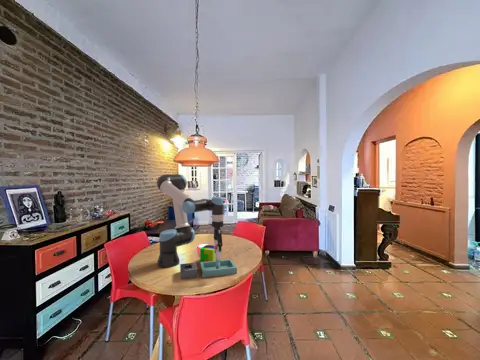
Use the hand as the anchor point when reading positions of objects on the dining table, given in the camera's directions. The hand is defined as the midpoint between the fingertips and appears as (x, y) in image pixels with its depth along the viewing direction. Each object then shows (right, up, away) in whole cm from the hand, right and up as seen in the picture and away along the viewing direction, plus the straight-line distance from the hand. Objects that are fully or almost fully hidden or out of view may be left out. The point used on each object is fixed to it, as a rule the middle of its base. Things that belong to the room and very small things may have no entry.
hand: (217, 252), depth 154 cm
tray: (0, -12, 0) cm, 12 cm away
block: (-18, -12, -6) cm, 22 cm away
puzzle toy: (-8, -12, +18) cm, 23 cm away
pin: (0, -11, 0) cm, 11 cm away
